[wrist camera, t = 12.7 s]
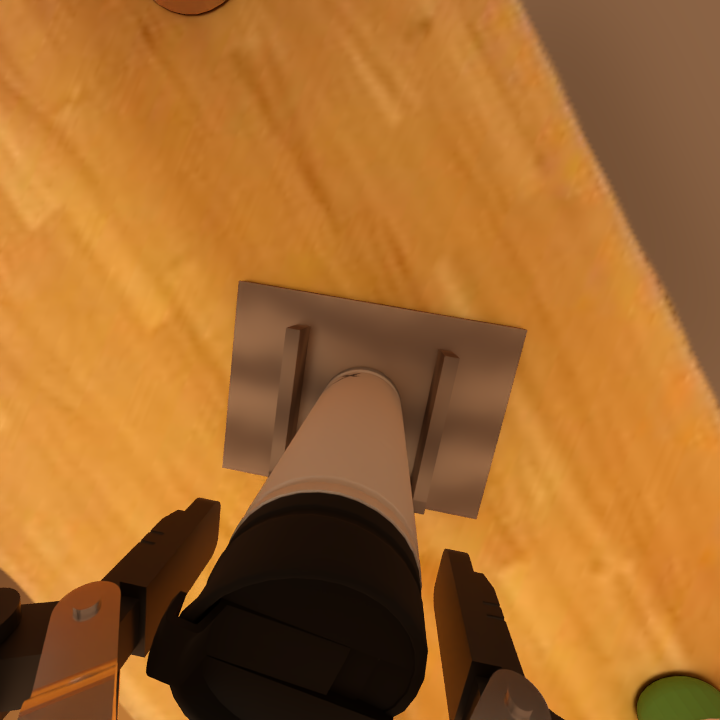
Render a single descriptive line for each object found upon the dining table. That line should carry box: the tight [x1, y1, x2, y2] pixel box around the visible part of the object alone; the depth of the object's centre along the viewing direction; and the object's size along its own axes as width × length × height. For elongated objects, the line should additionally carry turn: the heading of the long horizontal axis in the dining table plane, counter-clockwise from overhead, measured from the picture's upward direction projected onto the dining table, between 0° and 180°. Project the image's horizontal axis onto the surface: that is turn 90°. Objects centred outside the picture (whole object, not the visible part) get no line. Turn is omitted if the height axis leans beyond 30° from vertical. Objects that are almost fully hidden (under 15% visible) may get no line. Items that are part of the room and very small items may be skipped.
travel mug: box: [146, 367, 428, 720], centre depth 17 cm, size 6×7×20 cm
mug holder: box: [222, 281, 527, 519], centre depth 26 cm, size 16×22×4 cm
